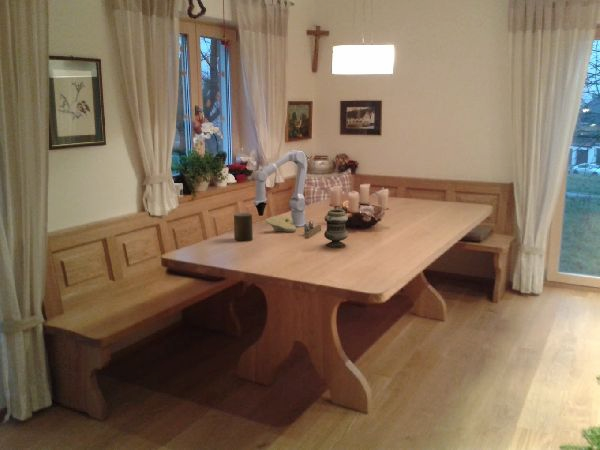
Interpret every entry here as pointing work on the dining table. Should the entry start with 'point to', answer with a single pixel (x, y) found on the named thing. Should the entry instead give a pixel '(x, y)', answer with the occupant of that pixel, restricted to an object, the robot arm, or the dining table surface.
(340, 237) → the apothecary jar
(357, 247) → the dining table surface
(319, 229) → the brown piece
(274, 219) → the cheese
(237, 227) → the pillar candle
